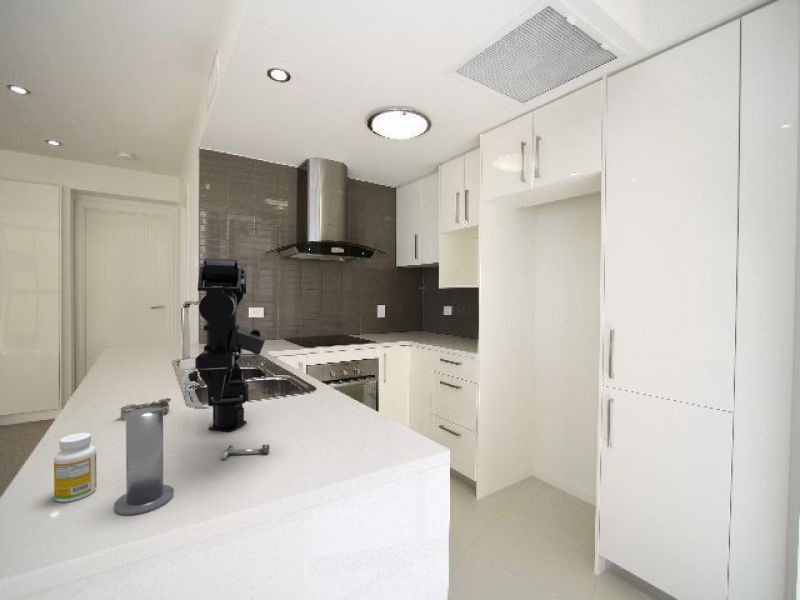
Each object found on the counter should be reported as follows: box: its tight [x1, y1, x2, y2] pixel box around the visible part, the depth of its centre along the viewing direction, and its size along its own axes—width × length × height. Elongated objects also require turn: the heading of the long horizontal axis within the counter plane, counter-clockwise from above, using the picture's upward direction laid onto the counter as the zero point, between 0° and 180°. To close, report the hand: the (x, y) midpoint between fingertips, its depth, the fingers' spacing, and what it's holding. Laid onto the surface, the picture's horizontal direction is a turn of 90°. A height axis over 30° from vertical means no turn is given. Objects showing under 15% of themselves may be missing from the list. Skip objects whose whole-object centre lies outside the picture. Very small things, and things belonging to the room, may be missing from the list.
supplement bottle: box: [53, 432, 98, 503], centre depth 62 cm, size 5×5×10 cm
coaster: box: [113, 484, 174, 516], centre depth 60 cm, size 8×8×1 cm
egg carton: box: [119, 397, 172, 422], centre depth 101 cm, size 11×8×4 cm
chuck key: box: [220, 444, 270, 461], centre depth 78 cm, size 9×5×2 cm, turn 98°
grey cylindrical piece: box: [125, 407, 164, 506], centre depth 60 cm, size 5×5×14 cm
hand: (221, 394), depth 77 cm, fingers open, 9 cm apart
